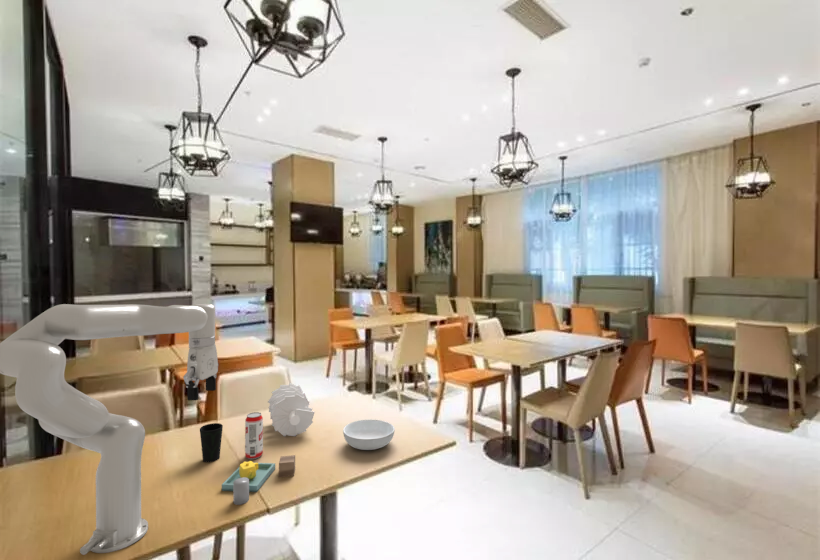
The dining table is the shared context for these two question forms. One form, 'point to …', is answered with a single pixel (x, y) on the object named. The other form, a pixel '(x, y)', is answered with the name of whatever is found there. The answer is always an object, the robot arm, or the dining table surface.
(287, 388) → the spiral staircase
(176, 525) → the dining table surface
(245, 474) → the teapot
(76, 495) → the dining table surface
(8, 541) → the dining table surface
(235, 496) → the grey cylinder
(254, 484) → the tray
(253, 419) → the beer can
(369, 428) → the serving bowl
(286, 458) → the walnut cube
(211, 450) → the cup
